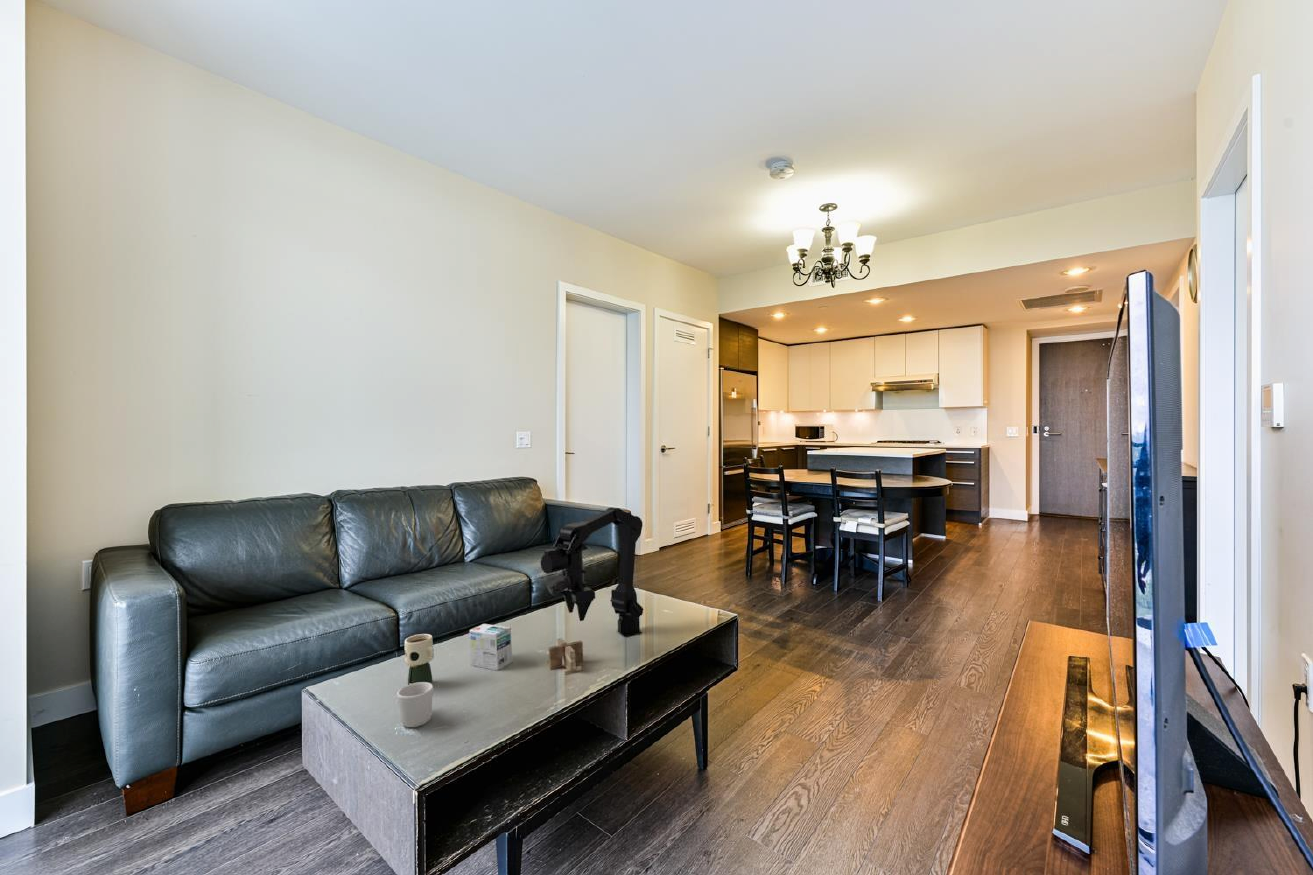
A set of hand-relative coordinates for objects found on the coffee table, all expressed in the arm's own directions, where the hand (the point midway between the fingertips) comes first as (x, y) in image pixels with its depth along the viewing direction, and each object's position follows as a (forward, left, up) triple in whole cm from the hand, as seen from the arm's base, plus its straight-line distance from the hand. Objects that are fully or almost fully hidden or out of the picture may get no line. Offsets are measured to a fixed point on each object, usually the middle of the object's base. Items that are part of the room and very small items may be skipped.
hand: (576, 616), depth 170 cm
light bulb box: (+25, -7, -12) cm, 28 cm away
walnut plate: (+6, +6, -12) cm, 14 cm away
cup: (+47, +17, -12) cm, 51 cm away
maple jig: (+6, +6, -12) cm, 14 cm away
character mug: (+45, -3, -12) cm, 46 cm away
